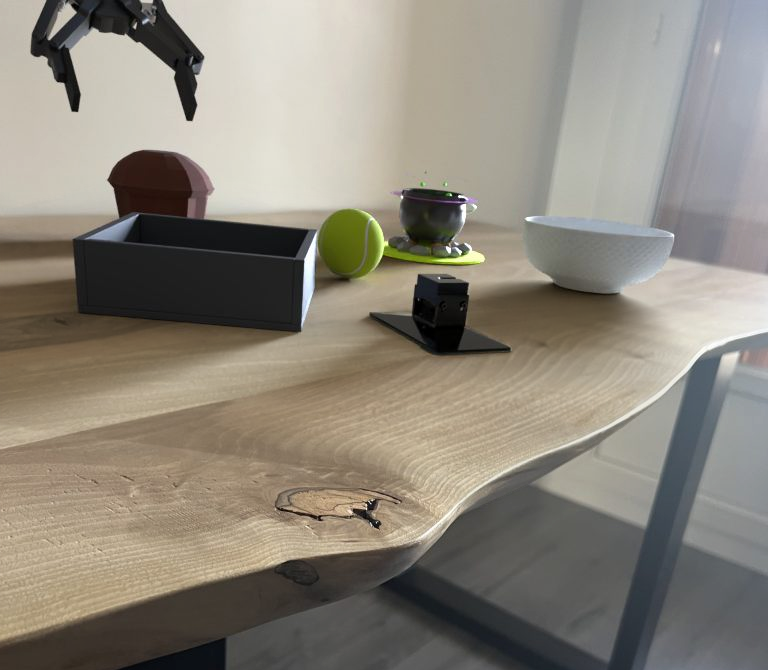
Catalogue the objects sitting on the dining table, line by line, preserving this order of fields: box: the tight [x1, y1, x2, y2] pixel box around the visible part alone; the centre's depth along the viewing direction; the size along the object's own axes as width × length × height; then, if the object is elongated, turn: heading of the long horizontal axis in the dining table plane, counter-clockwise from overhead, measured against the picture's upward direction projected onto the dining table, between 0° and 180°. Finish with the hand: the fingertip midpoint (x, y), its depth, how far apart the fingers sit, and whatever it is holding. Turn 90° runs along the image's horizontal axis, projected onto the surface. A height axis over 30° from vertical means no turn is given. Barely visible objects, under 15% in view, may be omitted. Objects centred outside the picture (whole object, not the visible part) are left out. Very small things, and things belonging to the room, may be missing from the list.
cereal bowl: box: [521, 215, 675, 294], centre depth 95 cm, size 17×17×7 cm
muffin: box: [106, 149, 215, 219], centre depth 93 cm, size 12×11×10 cm
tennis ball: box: [317, 208, 385, 279], centre depth 86 cm, size 7×7×7 cm
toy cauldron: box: [382, 161, 485, 265], centre depth 105 cm, size 15×15×11 cm
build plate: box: [368, 273, 512, 356], centre depth 68 cm, size 12×7×5 cm, turn 27°
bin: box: [72, 212, 319, 333], centre depth 71 cm, size 18×18×6 cm
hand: (136, 108), depth 96 cm, fingers open, 13 cm apart
